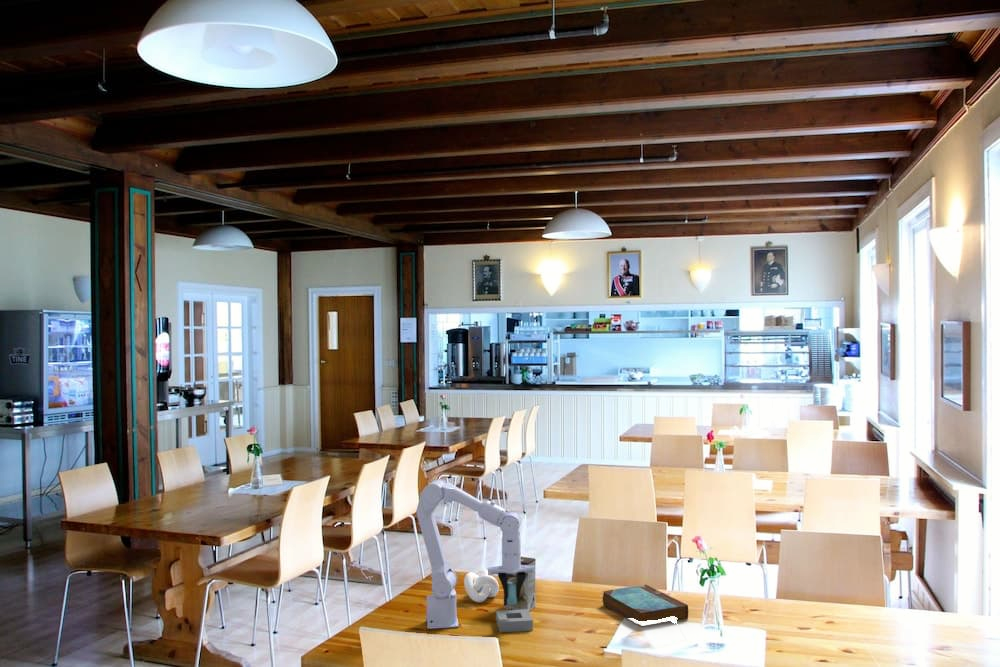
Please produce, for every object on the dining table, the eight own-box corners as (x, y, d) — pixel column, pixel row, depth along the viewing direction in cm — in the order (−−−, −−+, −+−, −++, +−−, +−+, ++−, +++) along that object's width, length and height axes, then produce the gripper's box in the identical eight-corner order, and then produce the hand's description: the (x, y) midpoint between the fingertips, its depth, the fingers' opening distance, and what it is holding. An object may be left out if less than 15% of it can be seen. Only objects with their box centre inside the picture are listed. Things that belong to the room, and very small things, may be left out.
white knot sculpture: (458, 595, 270) (458, 568, 270) (492, 591, 273) (491, 565, 274) (467, 605, 259) (466, 578, 259) (501, 601, 263) (501, 574, 263)
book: (688, 620, 243) (688, 604, 243) (640, 629, 236) (640, 613, 236) (646, 598, 264) (646, 584, 264) (601, 606, 257) (601, 591, 257)
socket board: (499, 632, 234) (499, 622, 234) (496, 620, 244) (496, 610, 244) (532, 630, 236) (532, 620, 236) (527, 618, 245) (527, 609, 245)
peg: (507, 604, 237) (507, 585, 237) (506, 601, 240) (506, 582, 240) (517, 604, 237) (516, 584, 237) (516, 601, 240) (516, 581, 240)
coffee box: (502, 608, 255) (502, 559, 255) (511, 602, 261) (511, 554, 261) (528, 613, 251) (527, 562, 251) (536, 606, 256) (535, 557, 257)
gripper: (488, 557, 234) (489, 602, 234) (536, 555, 236) (537, 600, 236) (486, 551, 241) (487, 595, 241) (533, 549, 243) (533, 592, 243)
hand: (511, 597), depth 239 cm, fingers closed on peg, 3 cm apart
